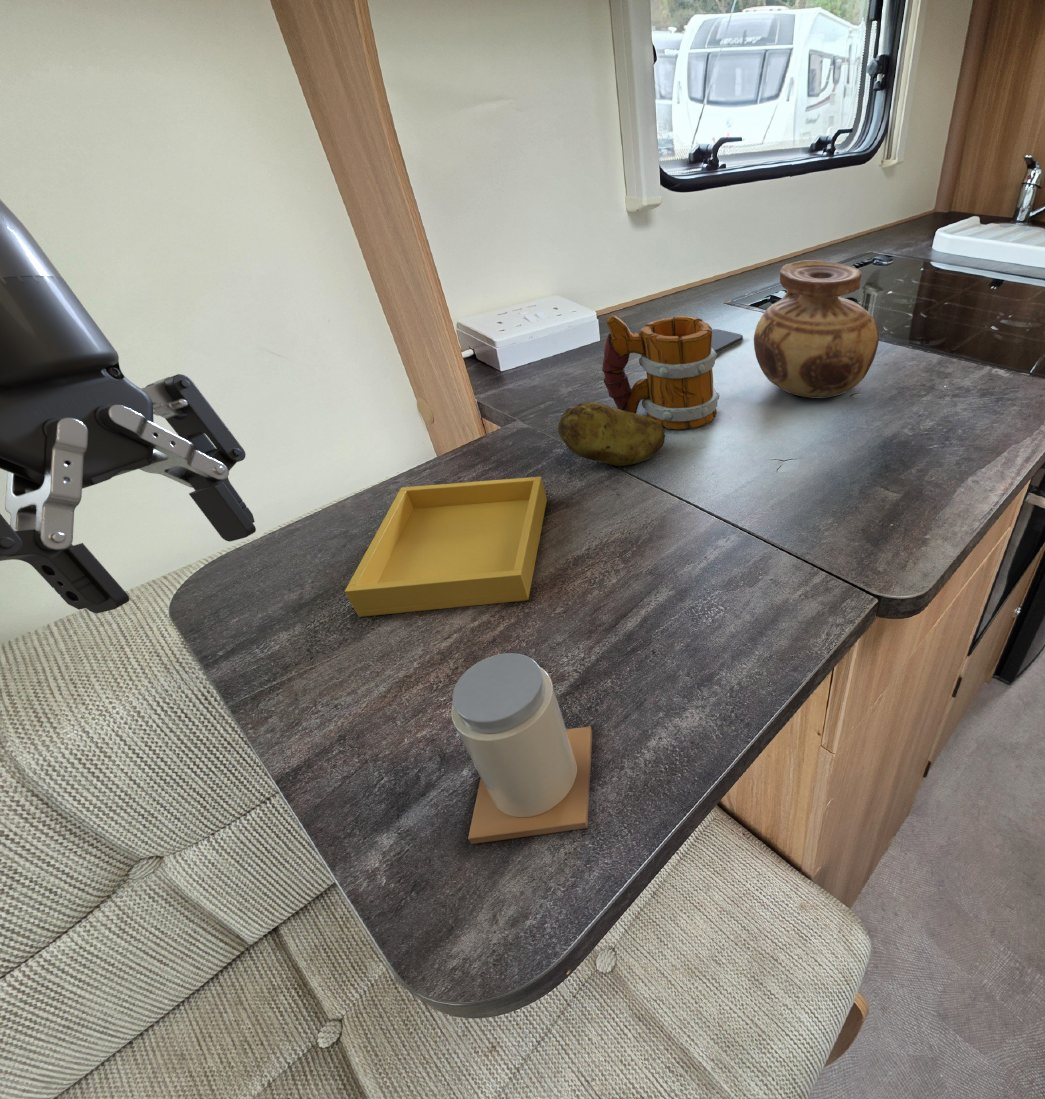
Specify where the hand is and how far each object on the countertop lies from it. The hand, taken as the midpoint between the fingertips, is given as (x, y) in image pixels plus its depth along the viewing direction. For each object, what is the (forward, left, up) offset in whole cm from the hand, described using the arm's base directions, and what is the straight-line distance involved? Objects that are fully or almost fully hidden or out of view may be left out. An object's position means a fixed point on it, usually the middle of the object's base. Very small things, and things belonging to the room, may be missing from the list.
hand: (184, 568), depth 36 cm
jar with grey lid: (-7, -19, -16) cm, 25 cm away
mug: (+50, -31, -17) cm, 61 cm away
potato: (+38, -24, -17) cm, 48 cm away
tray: (+21, -8, -16) cm, 28 cm away
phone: (+77, -40, -16) cm, 88 cm away
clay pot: (+57, -55, -17) cm, 81 cm away
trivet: (-8, -19, -16) cm, 26 cm away
